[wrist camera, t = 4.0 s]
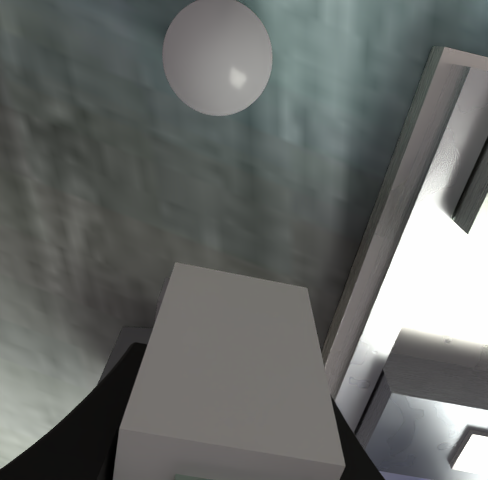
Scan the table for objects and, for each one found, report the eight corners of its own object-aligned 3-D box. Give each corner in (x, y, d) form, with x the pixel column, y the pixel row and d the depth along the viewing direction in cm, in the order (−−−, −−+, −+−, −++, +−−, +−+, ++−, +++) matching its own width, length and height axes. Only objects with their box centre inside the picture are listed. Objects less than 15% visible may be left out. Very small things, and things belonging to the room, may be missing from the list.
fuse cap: (257, 105, 19) (258, 126, 14) (178, 87, 18) (155, 103, 14) (276, 17, 17) (284, 12, 13) (191, -4, 17) (170, -16, 13)
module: (268, 408, 15) (277, 631, 10) (149, 387, 15) (86, 605, 9) (307, 287, 13) (349, 481, 7) (170, 261, 13) (105, 442, 7)
